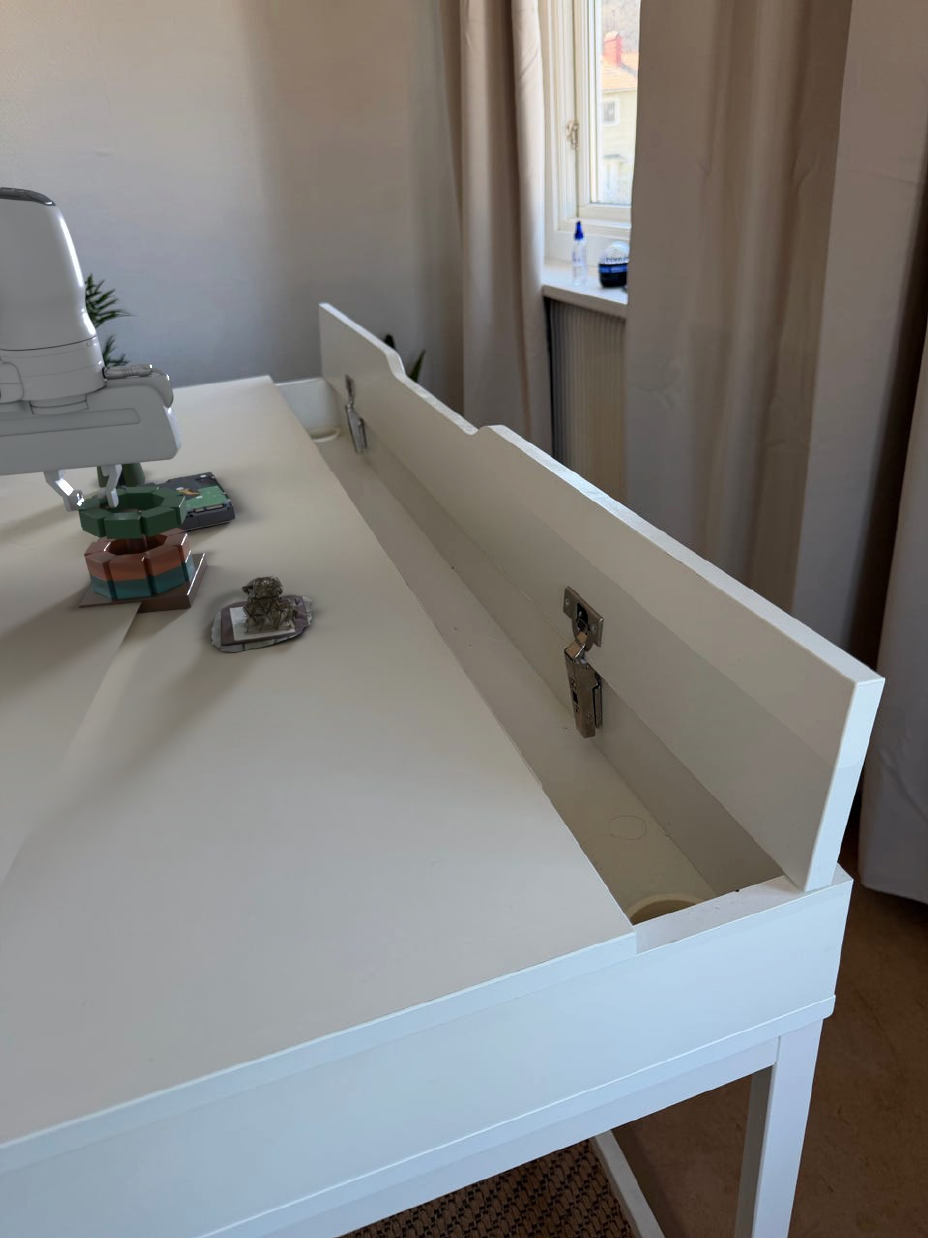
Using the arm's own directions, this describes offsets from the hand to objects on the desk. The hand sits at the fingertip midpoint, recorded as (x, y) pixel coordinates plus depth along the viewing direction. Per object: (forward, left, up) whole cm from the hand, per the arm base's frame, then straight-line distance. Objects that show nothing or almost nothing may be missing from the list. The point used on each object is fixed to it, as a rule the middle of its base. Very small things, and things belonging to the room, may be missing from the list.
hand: (93, 507), depth 96 cm
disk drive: (+3, +24, -10) cm, 26 cm away
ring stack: (+3, 0, -10) cm, 10 cm away
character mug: (-8, +37, -10) cm, 39 cm away
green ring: (+4, 0, -2) cm, 4 cm away
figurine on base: (+17, -10, -10) cm, 22 cm away
